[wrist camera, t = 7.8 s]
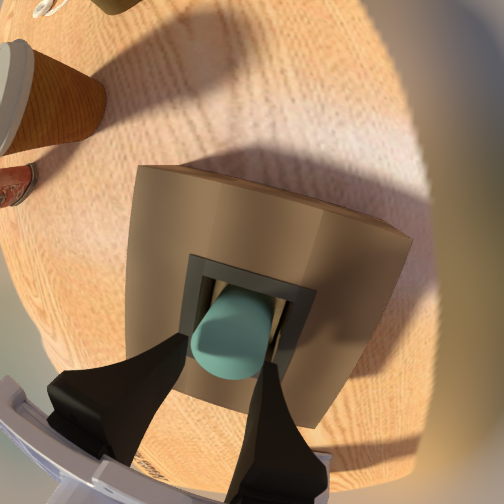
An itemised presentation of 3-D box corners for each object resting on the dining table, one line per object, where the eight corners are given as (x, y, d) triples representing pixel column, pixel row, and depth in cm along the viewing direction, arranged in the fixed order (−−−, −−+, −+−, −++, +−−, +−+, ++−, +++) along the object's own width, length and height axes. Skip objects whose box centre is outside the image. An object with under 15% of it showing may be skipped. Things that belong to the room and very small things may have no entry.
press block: (384, 221, 18) (413, 240, 13) (314, 383, 24) (314, 429, 18) (178, 165, 20) (137, 165, 14) (156, 334, 25) (126, 369, 19)
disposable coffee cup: (63, 172, 22) (-35, 189, 11) (50, 98, 20) (-35, 91, 9) (129, 128, 20) (13, 116, 8) (112, 48, 18) (20, 11, 6)
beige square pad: (290, 284, 18) (289, 288, 17) (271, 341, 20) (270, 345, 19) (221, 264, 18) (218, 267, 18) (209, 322, 20) (206, 326, 19)
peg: (281, 291, 18) (273, 334, 13) (265, 340, 19) (254, 387, 14) (222, 274, 18) (195, 309, 13) (212, 323, 19) (187, 366, 15)
